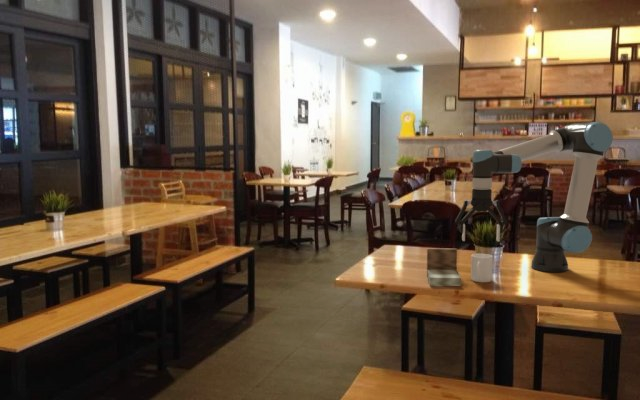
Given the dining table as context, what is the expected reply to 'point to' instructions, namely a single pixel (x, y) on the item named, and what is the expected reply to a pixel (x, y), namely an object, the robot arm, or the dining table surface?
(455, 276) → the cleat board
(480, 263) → the mug
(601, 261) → the dining table surface
